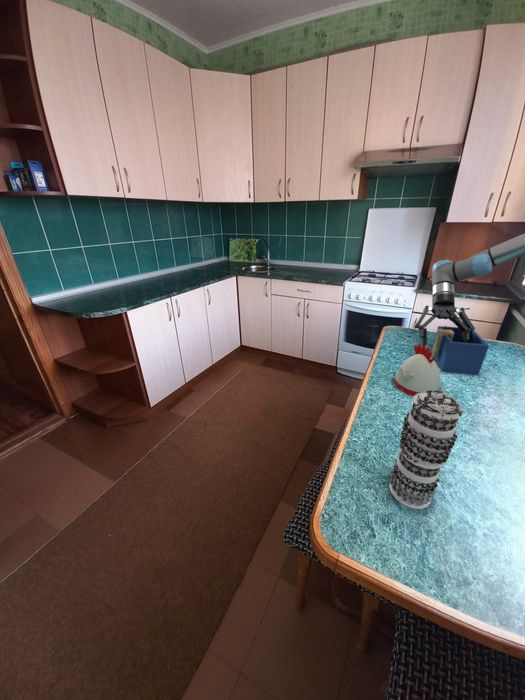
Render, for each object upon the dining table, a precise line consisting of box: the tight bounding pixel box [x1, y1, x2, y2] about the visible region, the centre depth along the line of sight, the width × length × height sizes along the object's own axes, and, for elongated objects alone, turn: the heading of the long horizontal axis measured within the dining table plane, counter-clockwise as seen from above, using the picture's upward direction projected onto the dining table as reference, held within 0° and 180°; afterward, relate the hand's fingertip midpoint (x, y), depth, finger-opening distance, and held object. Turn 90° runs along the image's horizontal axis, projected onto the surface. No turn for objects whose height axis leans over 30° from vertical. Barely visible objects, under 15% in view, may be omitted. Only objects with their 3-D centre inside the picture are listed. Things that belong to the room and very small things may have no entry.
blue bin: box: [430, 325, 490, 376], centre depth 111 cm, size 16×12×12 cm
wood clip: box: [431, 328, 454, 358], centre depth 112 cm, size 5×3×11 cm, turn 75°
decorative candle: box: [388, 390, 463, 510], centre depth 58 cm, size 9×9×25 cm
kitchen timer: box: [393, 342, 442, 396], centre depth 97 cm, size 14×14×15 cm
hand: (444, 346), depth 109 cm, fingers open, 13 cm apart
